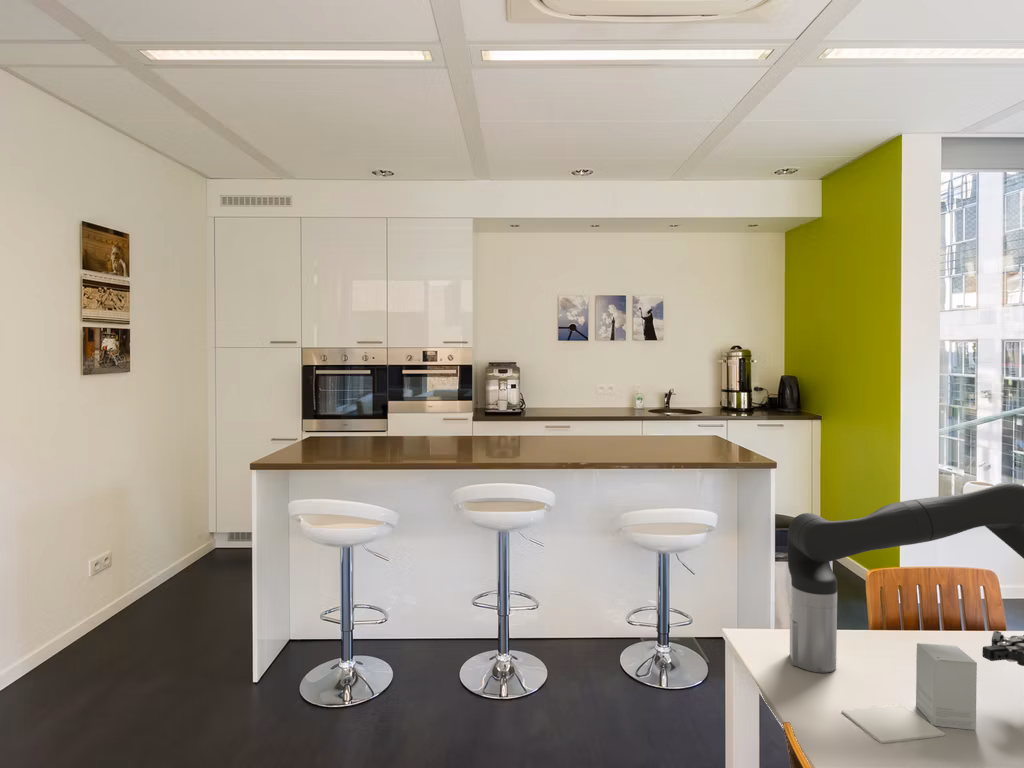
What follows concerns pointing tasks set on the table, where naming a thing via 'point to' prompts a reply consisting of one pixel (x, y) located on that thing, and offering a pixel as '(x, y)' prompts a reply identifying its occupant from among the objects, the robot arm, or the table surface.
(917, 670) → the supplement box
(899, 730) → the mat
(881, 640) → the table surface
